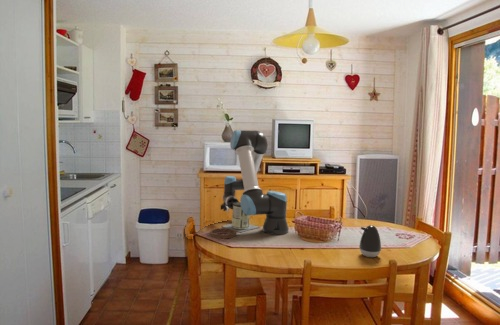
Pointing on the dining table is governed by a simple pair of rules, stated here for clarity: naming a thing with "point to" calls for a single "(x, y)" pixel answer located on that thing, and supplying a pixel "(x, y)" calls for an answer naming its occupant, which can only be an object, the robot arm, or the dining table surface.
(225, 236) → the walnut ring collar
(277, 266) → the dining table surface
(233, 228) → the slate mat
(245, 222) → the coffee can
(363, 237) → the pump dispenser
